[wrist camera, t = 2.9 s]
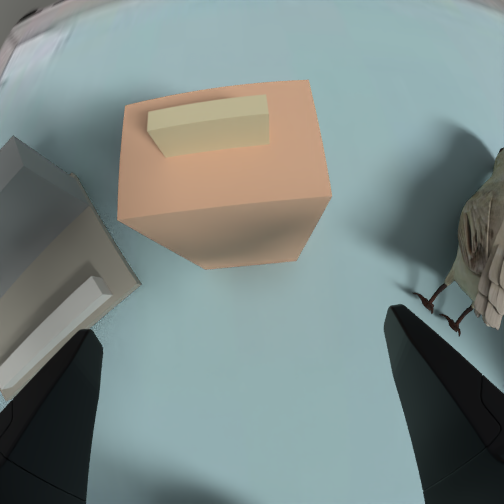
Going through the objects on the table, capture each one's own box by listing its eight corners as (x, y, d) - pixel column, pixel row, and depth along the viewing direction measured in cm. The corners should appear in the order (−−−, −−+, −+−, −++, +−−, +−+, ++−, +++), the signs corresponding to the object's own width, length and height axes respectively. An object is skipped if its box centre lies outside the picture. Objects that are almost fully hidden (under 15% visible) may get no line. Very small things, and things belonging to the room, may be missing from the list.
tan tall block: (296, 261, 21) (344, 173, 7) (205, 269, 22) (89, 204, 7) (289, 202, 22) (313, 46, 8) (202, 211, 22) (105, 78, 8)
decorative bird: (517, 183, 21) (567, 152, 14) (450, 343, 20) (513, 353, 12) (477, 145, 22) (523, 104, 15) (400, 303, 20) (456, 301, 13)
